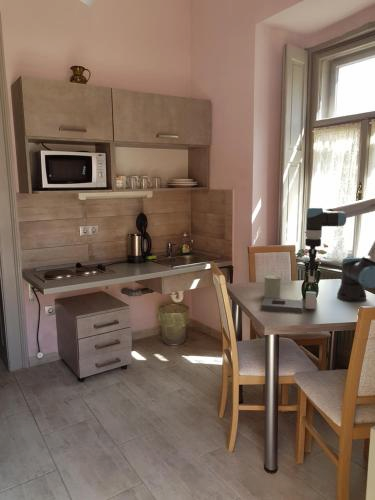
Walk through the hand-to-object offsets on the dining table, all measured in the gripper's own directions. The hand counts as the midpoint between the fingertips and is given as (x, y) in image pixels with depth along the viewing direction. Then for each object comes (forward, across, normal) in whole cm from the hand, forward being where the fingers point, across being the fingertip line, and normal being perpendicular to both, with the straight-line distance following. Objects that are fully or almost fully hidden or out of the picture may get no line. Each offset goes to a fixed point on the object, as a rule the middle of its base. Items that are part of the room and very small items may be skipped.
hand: (311, 279), depth 204 cm
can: (+15, -16, -21) cm, 30 cm away
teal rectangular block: (+15, 0, 0) cm, 15 cm away
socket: (+15, +4, -14) cm, 21 cm away
